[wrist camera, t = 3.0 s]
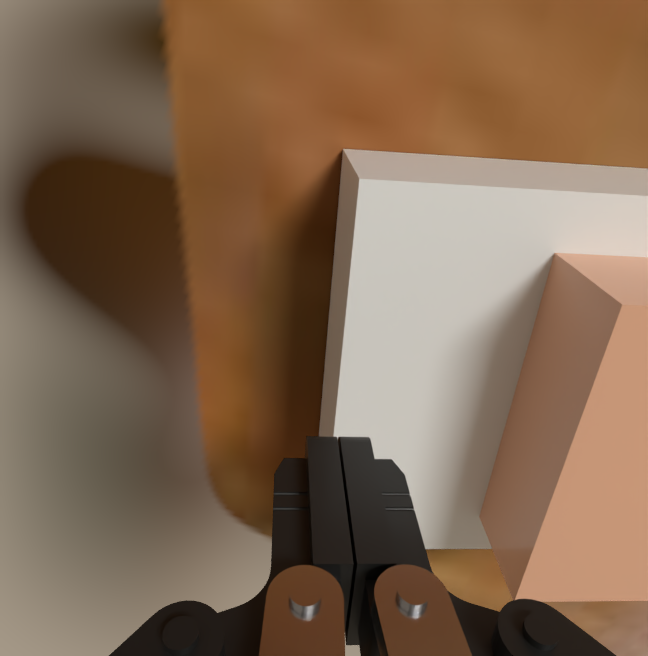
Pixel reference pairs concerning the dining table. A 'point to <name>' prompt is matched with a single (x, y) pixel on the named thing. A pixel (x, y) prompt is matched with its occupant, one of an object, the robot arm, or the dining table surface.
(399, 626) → the robot arm
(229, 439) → the dining table surface
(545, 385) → the terracotta tile
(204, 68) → the dining table surface
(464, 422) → the block
